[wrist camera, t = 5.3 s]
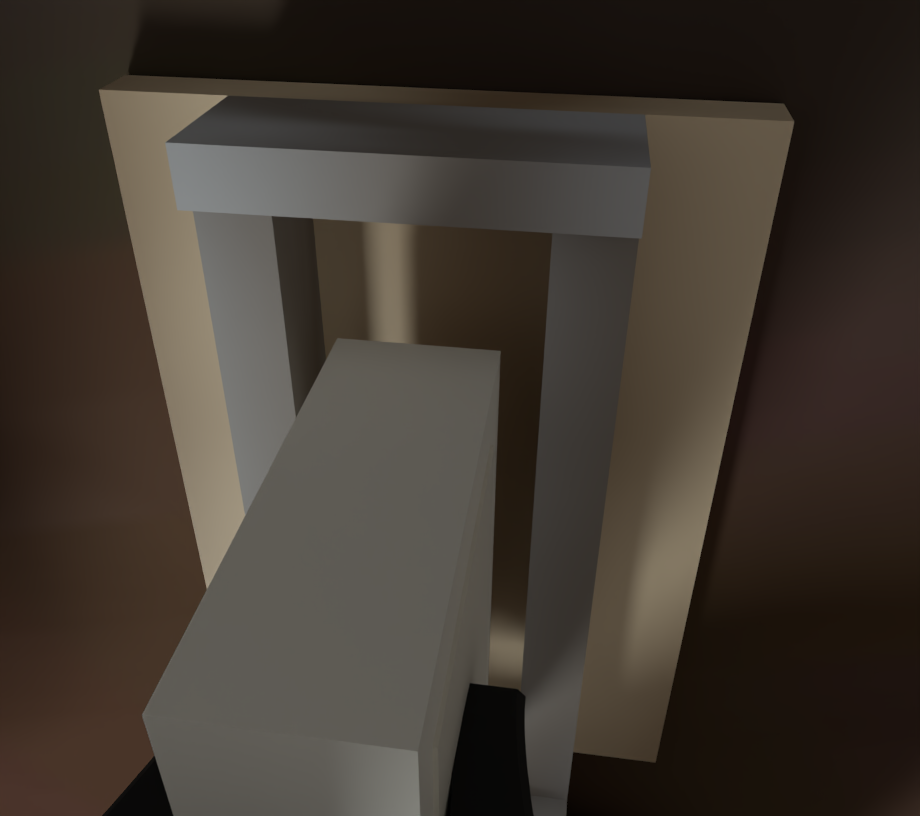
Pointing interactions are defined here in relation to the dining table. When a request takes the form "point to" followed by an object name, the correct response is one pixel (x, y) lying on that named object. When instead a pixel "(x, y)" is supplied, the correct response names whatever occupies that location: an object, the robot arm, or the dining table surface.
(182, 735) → the door panel
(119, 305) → the dining table surface
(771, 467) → the dining table surface
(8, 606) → the dining table surface
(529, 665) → the door frame
